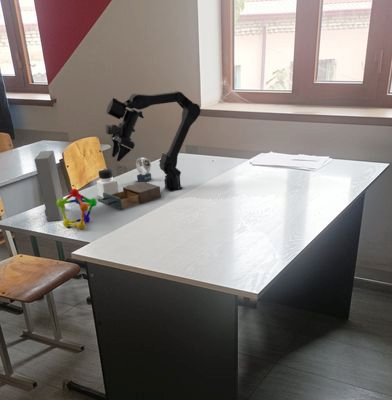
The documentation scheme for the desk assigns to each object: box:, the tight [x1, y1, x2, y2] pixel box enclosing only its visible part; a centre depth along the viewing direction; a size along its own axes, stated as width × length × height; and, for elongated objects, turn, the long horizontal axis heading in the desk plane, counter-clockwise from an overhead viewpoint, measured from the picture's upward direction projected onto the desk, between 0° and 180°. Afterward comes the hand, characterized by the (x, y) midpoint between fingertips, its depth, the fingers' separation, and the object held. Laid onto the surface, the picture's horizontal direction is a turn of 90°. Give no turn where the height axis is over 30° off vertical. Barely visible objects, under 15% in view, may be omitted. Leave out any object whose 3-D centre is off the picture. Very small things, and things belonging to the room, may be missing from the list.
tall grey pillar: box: [34, 150, 67, 222], centre depth 208 cm, size 14×6×25 cm, turn 4°
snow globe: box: [135, 156, 152, 183], centre depth 250 cm, size 6×8×11 cm
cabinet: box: [122, 182, 162, 205], centre depth 228 cm, size 11×13×5 cm
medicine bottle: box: [96, 168, 119, 199], centre depth 231 cm, size 7×7×12 cm
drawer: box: [97, 190, 140, 210], centre depth 221 cm, size 16×13×5 cm
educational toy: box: [57, 188, 98, 231], centre depth 200 cm, size 16×13×15 cm
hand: (115, 158), depth 222 cm, fingers open, 9 cm apart
